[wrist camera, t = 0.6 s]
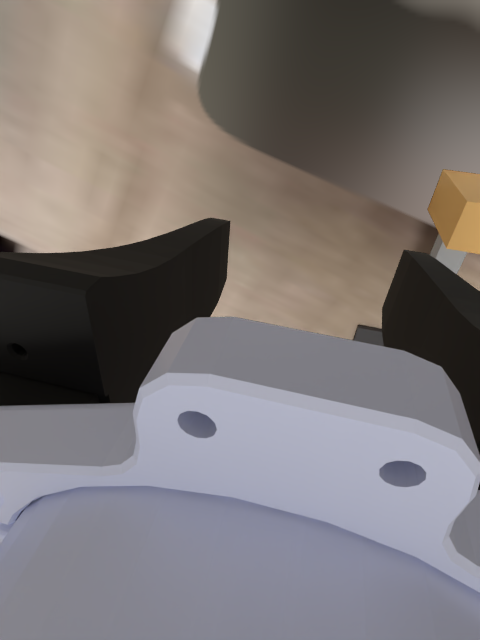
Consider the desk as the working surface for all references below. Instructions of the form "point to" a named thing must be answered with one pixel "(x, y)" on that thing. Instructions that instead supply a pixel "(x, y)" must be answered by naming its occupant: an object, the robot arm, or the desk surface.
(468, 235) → the tray
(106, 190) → the desk surface
